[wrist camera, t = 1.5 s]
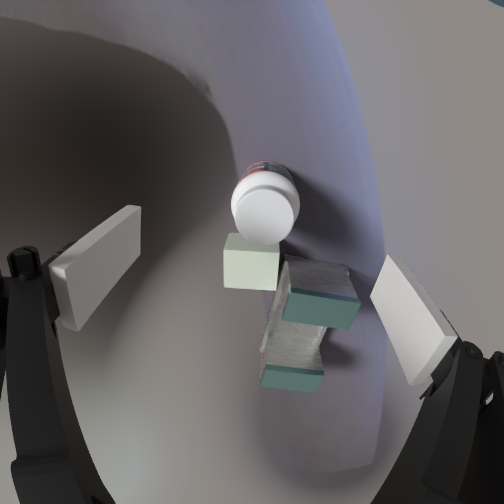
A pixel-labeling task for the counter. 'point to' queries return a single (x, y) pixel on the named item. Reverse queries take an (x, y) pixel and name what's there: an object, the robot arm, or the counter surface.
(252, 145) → the counter surface
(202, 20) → the counter surface
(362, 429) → the counter surface
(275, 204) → the pill bottle
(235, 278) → the block
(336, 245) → the counter surface
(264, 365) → the teal white block
